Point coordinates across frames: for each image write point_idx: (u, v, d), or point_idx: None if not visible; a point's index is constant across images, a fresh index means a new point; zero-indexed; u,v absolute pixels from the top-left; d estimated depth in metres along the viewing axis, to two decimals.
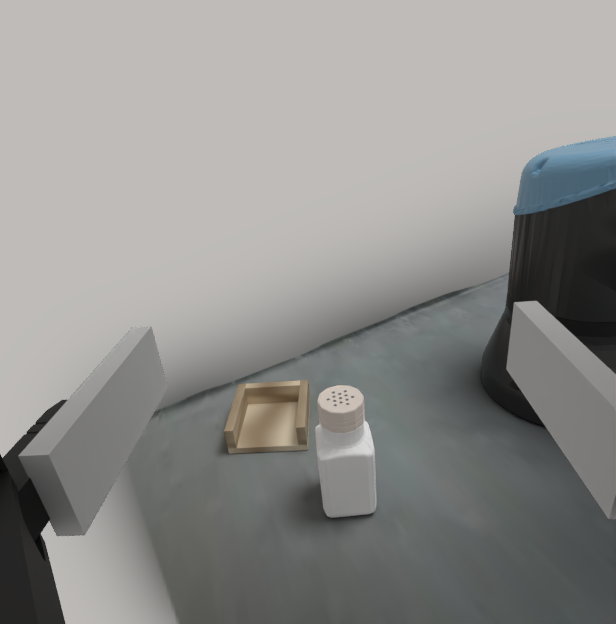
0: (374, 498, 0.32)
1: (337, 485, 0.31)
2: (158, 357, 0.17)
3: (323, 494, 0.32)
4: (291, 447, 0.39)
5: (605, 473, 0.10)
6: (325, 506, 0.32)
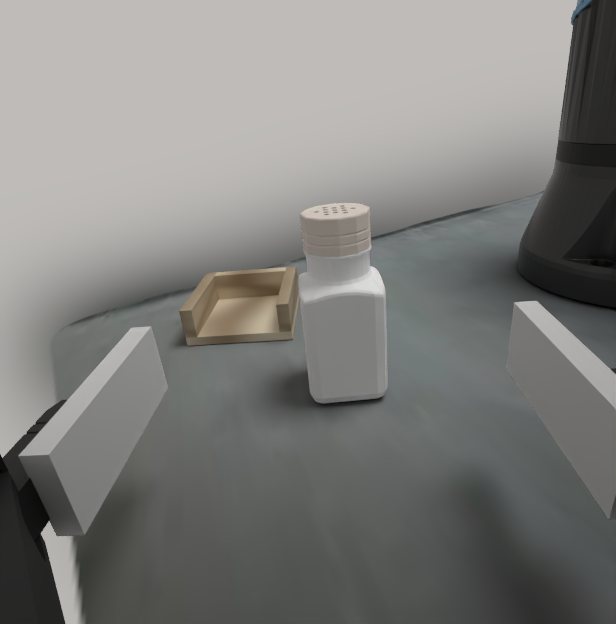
0: (384, 372, 0.22)
1: (330, 345, 0.21)
2: (158, 357, 0.17)
3: (309, 364, 0.21)
4: (270, 335, 0.29)
5: (605, 473, 0.10)
6: (312, 384, 0.22)
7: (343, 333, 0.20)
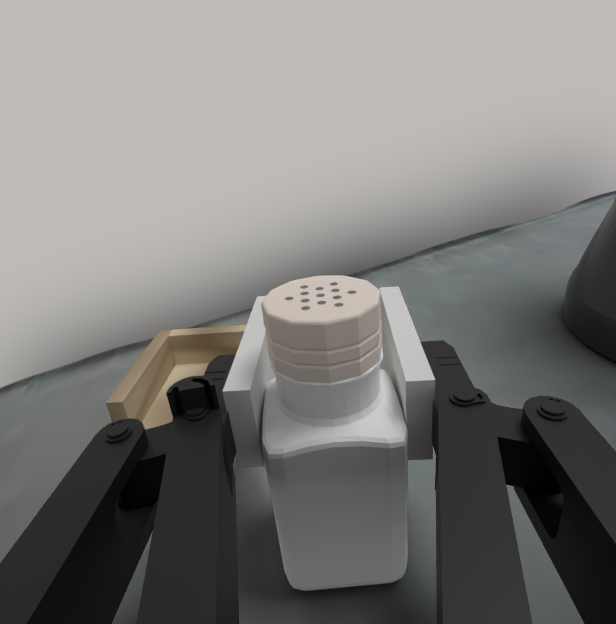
0: (403, 548, 0.13)
1: (314, 518, 0.12)
2: None
3: (281, 539, 0.13)
4: None
5: None
6: (287, 566, 0.13)
7: (336, 501, 0.12)
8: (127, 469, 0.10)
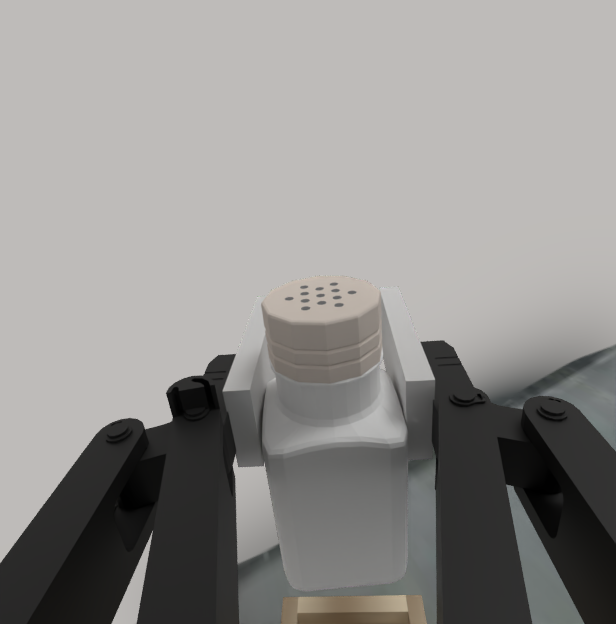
0: (404, 549, 0.13)
1: (314, 519, 0.12)
2: None
3: (281, 539, 0.13)
4: None
5: None
6: (287, 567, 0.13)
7: (336, 501, 0.12)
8: (127, 469, 0.10)
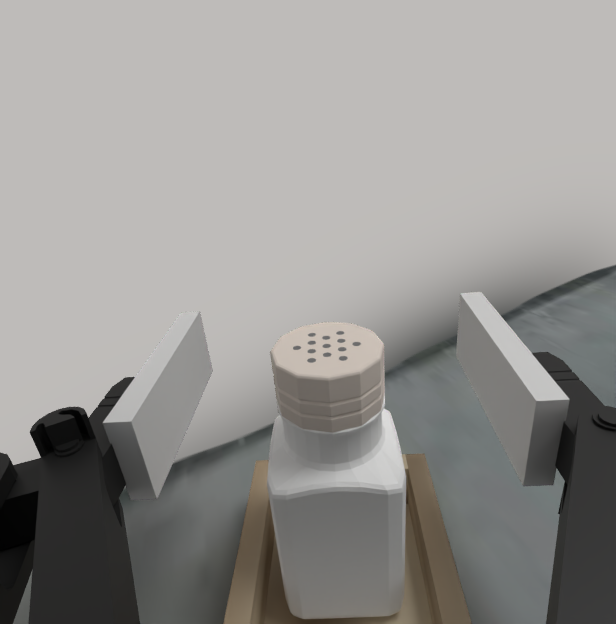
0: (400, 585, 0.14)
1: (314, 554, 0.13)
2: (205, 341, 0.17)
3: (283, 570, 0.14)
4: None
5: (520, 444, 0.11)
6: (288, 596, 0.14)
7: (336, 540, 0.13)
8: None
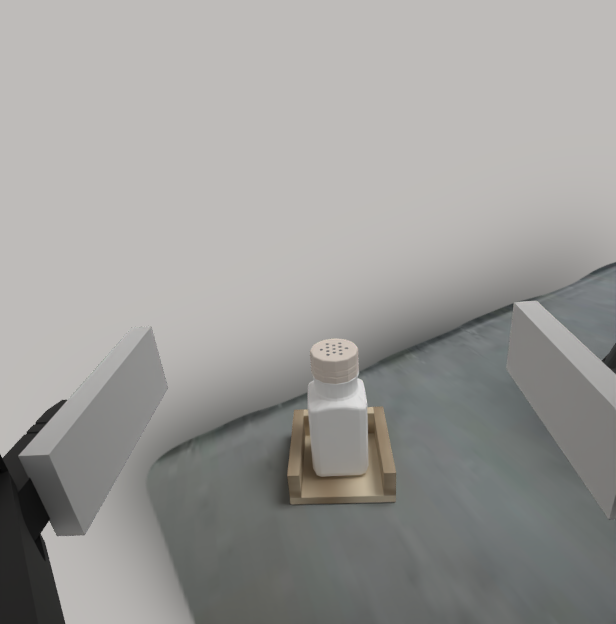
0: (365, 457, 0.31)
1: (327, 440, 0.30)
2: (158, 357, 0.17)
3: (313, 450, 0.31)
4: (374, 498, 0.30)
5: (605, 473, 0.10)
6: (314, 463, 0.31)
7: (337, 432, 0.30)
8: None
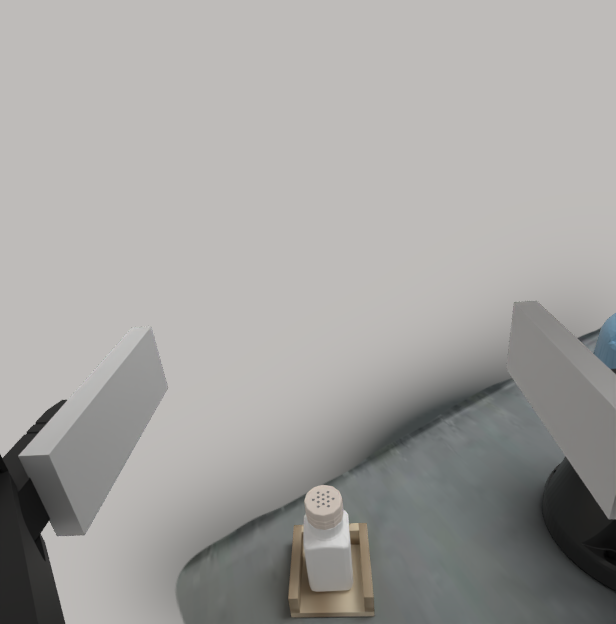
0: (350, 578, 0.38)
1: (319, 568, 0.38)
2: (158, 357, 0.17)
3: (308, 574, 0.38)
4: (357, 613, 0.38)
5: (605, 473, 0.10)
6: (310, 583, 0.39)
7: (327, 563, 0.37)
8: None
